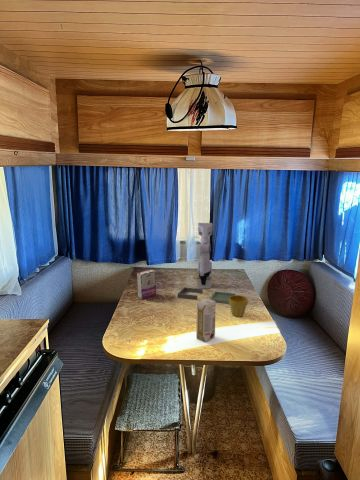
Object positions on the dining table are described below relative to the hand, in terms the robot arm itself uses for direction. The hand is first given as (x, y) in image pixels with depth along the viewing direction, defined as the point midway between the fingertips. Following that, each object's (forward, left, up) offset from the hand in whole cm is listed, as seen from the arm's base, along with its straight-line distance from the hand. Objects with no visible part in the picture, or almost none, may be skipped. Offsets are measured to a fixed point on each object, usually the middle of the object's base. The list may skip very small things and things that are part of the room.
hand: (204, 283), depth 231 cm
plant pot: (+21, +25, -9) cm, 34 cm away
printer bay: (0, -9, -9) cm, 13 cm away
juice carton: (+54, +15, -9) cm, 57 cm away
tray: (0, +12, -9) cm, 15 cm away
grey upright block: (0, 0, -2) cm, 2 cm away
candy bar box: (+11, -35, -9) cm, 38 cm away
